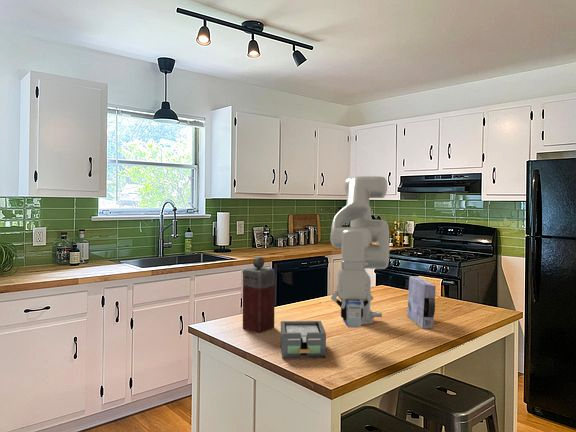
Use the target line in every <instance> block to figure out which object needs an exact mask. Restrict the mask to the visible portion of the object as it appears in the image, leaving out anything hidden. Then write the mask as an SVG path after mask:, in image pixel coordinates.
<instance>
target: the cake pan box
mask: <svg viewBox="0 0 576 432" xmlns="http://www.w3.org/2000/svg"><path fill="white" fill-rule="evenodd" d="M408 279H409V281H408V294H407V296H408V297H407V314H406V316H407V317H408V318H409V319H410V320H411V321H412V322H413V323H415V324H416V325H418V326H419V328H421V329H422V330H434V321H435V320H434V316H435V314H436V313H435V312H436V288H437V287H436V285H435V284H433V283H431V282H429V281H428V280H425V279H424V278H422V277H420V276H413V275H412V276H411V275H410V276H409V277H408Z"/></svg>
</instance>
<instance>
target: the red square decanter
mask: <svg viewBox="0 0 576 432" xmlns="http://www.w3.org/2000/svg"><path fill="white" fill-rule="evenodd" d="M252 263H253V267H249V268H245V269H244V268H243V270H242V330H245V331H249V332H254V333H258V334H262V333H264V332H267V331H270V330H273V329H275V300H276V299H275V290H276V289H275V283H276V282H275V281H276V280H275V279H276V278H275V277H276V275H275V269H274V268H271V267H264V266H265V259H264V258H263V257H262V256H256V257H254V259H253V262H252Z"/></svg>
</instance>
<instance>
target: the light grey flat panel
mask: <svg viewBox="0 0 576 432" xmlns="http://www.w3.org/2000/svg"><path fill="white" fill-rule="evenodd" d="M300 332H301V338H302V342H306V338H307V332H319V331H318V328H317V325H286V333H300Z"/></svg>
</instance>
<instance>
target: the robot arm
mask: <svg viewBox="0 0 576 432" xmlns="http://www.w3.org/2000/svg"><path fill="white" fill-rule="evenodd" d="M344 191H345V196H346V205H345V206H344V207H341V209H340V210H339V211H338V212H337V213H336V214H335V216H333V219H332V222H331V229H330V237H329V238H330V244H331V245H332V247H334V248H335V249H341V259H340V260H341V268H339V269H338V271H337V272H338V273H337V279H336V290H335V291H334V293H332V295H331V297H330V299H331V300H332V301H333V302H334V303H336V304H337V305H338V306H339V307H340V317H341V318H342V321H343V320H346V308H345V304H346V300H359V301H360V302H361V326H366V325H367V326H368V325H371V324H374V322H375V318H382V317H383V313H382V312H378V311H373V310H371V302H372V301H373V300H374V296H373V295H372V294H371V292H372V291H371V287H372V285H371V284H372V279H371V277H370V275H369V273H368V271H366V270H368V269H369V270H370V269H371V270H372V269H373V270H385V269H386V268H388V266H389V262H390V228H389V224H388V222H387V221H386V220H383V219H372V208H371V206H370V199H384V198H385V197H386V195H387V192H388V182H387V179H386V177H384V176H376V175H374V176H373V175H372V176H370V175H368V176H362V175H361V176H360V175H359V176H352V177H347V179H345V182H344ZM346 223H350V226H346V227H345V226H344V225H345V224H346ZM373 243H375V244H376V245H371V244H373Z"/></svg>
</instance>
